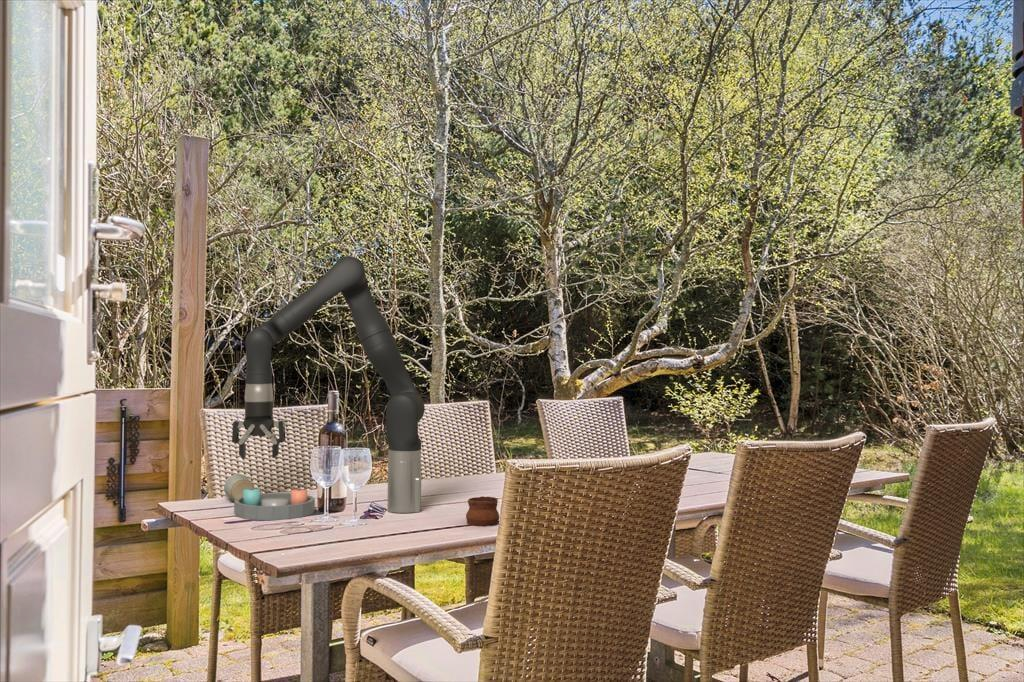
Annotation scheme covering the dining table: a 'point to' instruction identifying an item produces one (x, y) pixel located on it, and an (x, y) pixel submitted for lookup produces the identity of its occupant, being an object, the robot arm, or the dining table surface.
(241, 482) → the ceramic mug
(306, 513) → the groove tray
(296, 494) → the brick bead
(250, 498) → the teal cylinder
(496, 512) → the ceramic pot
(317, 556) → the dining table surface
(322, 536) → the dining table surface
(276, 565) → the dining table surface
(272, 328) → the robot arm
